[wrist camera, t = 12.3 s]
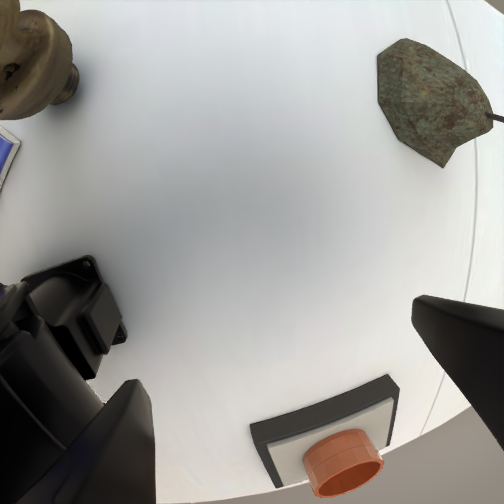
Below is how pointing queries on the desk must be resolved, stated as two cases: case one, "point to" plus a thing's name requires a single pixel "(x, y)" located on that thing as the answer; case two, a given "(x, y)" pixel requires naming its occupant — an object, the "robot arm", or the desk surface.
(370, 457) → the bowl
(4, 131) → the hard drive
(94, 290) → the robot arm
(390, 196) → the desk surface
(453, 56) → the desk surface
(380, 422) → the scale
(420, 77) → the sword in stone
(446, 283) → the desk surface
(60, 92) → the light bulb
